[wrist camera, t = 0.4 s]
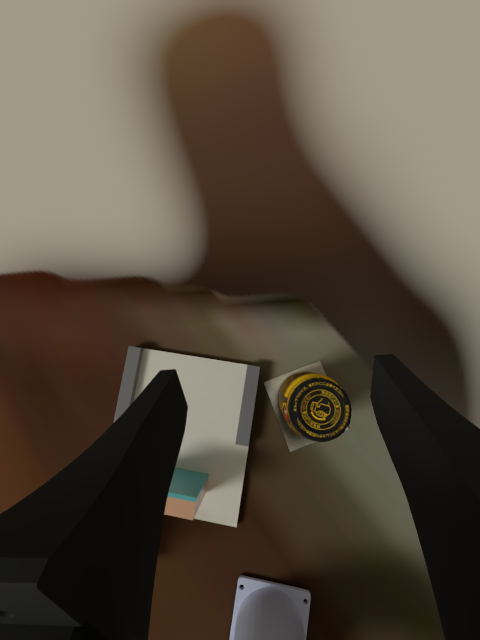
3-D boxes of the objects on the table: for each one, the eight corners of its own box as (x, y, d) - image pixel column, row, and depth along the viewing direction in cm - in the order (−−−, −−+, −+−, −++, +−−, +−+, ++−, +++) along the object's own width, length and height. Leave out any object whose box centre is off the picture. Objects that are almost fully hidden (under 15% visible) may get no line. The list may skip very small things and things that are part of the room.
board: (237, 523, 38) (235, 531, 36) (104, 496, 39) (97, 502, 37) (260, 366, 40) (260, 366, 38) (134, 346, 42) (128, 346, 40)
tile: (206, 492, 38) (193, 520, 31) (155, 482, 38) (131, 507, 31) (209, 474, 38) (196, 497, 31) (159, 464, 38) (135, 485, 32)
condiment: (319, 360, 40) (343, 357, 28) (348, 429, 38) (386, 456, 26) (263, 382, 40) (262, 388, 28) (289, 451, 38) (300, 488, 27)
